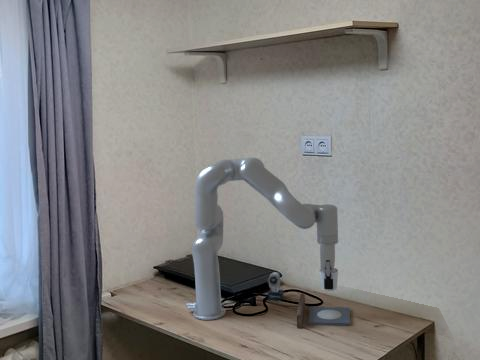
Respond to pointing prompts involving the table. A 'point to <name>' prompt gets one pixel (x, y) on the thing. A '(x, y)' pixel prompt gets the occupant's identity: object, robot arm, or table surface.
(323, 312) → the mat
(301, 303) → the divider wall
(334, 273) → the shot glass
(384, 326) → the table surface
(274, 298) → the watch
